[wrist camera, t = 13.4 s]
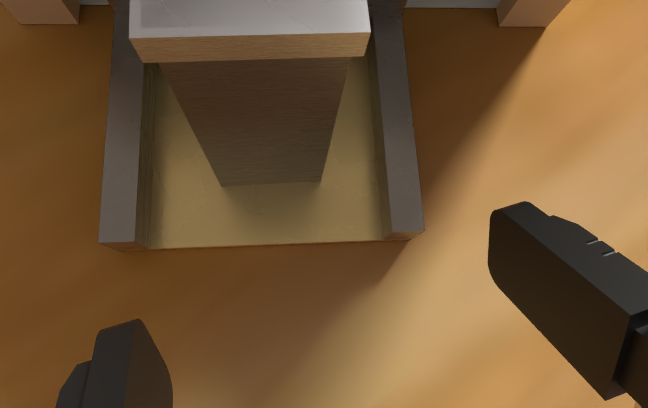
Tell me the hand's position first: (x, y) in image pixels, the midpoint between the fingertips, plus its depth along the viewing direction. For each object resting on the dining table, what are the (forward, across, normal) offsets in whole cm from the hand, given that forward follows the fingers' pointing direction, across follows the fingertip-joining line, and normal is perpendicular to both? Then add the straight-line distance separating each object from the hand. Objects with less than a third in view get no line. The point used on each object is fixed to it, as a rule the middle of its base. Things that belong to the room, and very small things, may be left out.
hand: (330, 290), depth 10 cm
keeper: (+10, 0, 0) cm, 10 cm away
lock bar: (+10, 0, 0) cm, 10 cm away
